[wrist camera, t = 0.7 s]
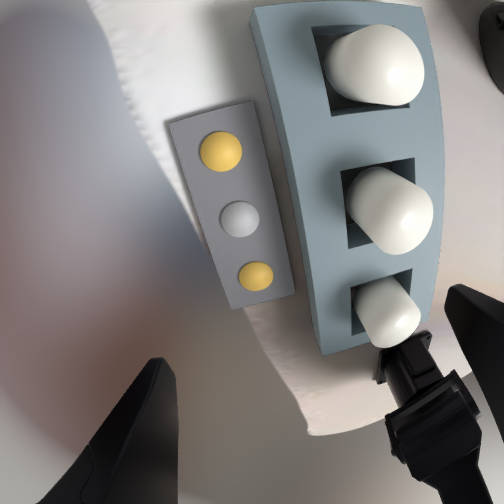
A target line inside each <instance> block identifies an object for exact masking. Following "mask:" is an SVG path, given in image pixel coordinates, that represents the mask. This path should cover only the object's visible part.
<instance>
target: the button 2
mask: <svg viewBox="0 0 504 504" xmlns="http://www.w3.org/2000/svg"><path fill="white" fill-rule="evenodd" d="M353 307H354V309H355V311H356V313H357V315H358V317H359V319H360V321H361V323H362V324H363V326H364V328H365V330H366V332H367V334H368V336H369V338H370V340H371V342H372V344H373V345H375V346H376V347H379V348H387V347H391V346H394V345H397V344H399V343H401V342H402V341H404V340H405V339H406V338H408V337H409V336H410V335H411V334H412V333H413V332H414V330H415V329H416V328H417V326H418V324H419V322H420V318H421V313H420V310H419V308H418V307H417V306H416V304H415V303H414V302H413V300H412V299H411V298H410V296H409V295H408V294H407V292H406V291H405V290H404V288H403V287H402V286H401V285H400V283H399V282H398V281H397V279H396V278H395V277H394V276H392V275H389V276H386V277H383V278H380V279H376V280H373V281H370V282H366V283H363V284H362V285H361V286H360V287H359V288H358V290H357V291H356V293H355V295H354V298H353Z"/></svg>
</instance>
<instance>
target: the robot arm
mask: <svg viewBox="0 0 504 504" xmlns="http://www.w3.org/2000/svg"><path fill="white" fill-rule="evenodd" d="M444 309H445V313H446V316H447V318H448V320H449V322H450V324H451V326H452V329H453V331H454V333H455V336H456V338H457V340H458V343H459V345H460V347H461V349H462V351H463V353H464V355H465V357H466V359H467V361H468V363H469V365H470V367H471V369H472V371H473V373H474V375H475V377H476V379H477V381H478V383H479V385H480V387H481V389H482V391H483V393H484V396H485V398H486V400H487V403H488V405H489V407H490V409H491V412H492V414H493V417H494V419H495V421H496V424H497V426H498V429H499V432H500V434H501V437H502V440H503V442H504V303H503V302H501V301H498V300H496V299H494V298H492V297H490V296H487V295H485V294H483V293H481V292H479V291H476V290H474V289H472V288H470V287H467V286H465V285H463V284H456V285H453V286H451V287H450V288H449V290H448V293H447V297H446V301H445V306H444ZM431 338H432V334H431V333H430V332H427V333H425V334H422V335H420V336H418V337H415V338H413V339H410V340H408V341H405V342H402V343H400V344H397V345H394V346H392V347H389V348H386V349H384V350H382V351H381V352H380V358H379V365H378V372H377V378H376V382H377V384H382V383H385V382H387V383H388V385H389V388H390V390H391V392H392V394H393V396H394V399H395V401H396V403H397V405H398V409H397V410H395V411H393V412H391V413H388V414H387V415H385V419H386V421H385V425H386V427H387V431H388V434H389V438H390V446H391V453H392V455H393V456H395V457H397V458H398V459H399V460H400V461H401V463H402V464H407V466H408V468H409V470H410V472H411V475H412V477H414V478H415V479H416V480H418V481H420V482H421V481H422V482H424V483H426V484H428V485H430V486H432V487H433V488H435V489H437V490H438V492H439V495H440V498H441V500H442V503H443V504H493V501H492V499H491V496H490V493H489V491H488V488H487V486H486V483H485V481H484V479H483V476H482V474H481V471H480V469H479V467H478V460H479V453H480V446H481V437H482V431H481V429H480V427H479V425H478V423H477V421H476V420H477V419H478V418H479V417H481V413H480V411H479V409H478V407H477V405H476V403H475V401H474V399H473V397H472V396H471V394H470V392H469V391H468V389H467V388H466V386H465V385H464V383H463V382H462V380H461V378H460V377H459V375H458V374H457V372H456V371H455V369H454V370H452V371H451V372H450V374H448V375H447V376H446V377H443V375H442V373H441V372H440V370H439V368H438V366H437V365H436V362H435V361H434V359H433V358H432V356H431V354H430V353H429V351H428V349H429V345H430V342H431ZM457 389H458V390H459V391H456V390H457ZM454 391H456V392H454ZM178 434H179V420H178V406H177V390H176V378H175V374H174V372H173V371H172V369H171V368H170V366H169V364H168V363H167V361H166V360H165V359H164V358H163V357H159V358H152V359H150V360H149V361H148V362H147V364H146V365H145V366H144V368H143V369H142V370H141V372H140V373H139V374H138V376H137V377H136V378H135V380H134V381H133V382H132V384H131V385H130V386H129V388H128V389H127V390H126V392H125V393H124V395H123V396H122V397H121V399H120V400H119V401H118V403H117V404H116V406H115V407H114V408H113V410H112V411H111V412H110V414H109V415H108V416H107V418H106V419H105V421H104V422H103V424H102V425H101V426H100V427H99V429H98V430H97V432H96V433H95V434H94V436H93V437H92V439H91V440H90V441H89V445H86V447H85V448H84V450H83V451H82V452H81V454H80V455H79V457H78V458H77V459H76V460H75V462H74V463H73V464H72V466H71V467H70V468H69V469H68V470H67V472H66V473H65V474H64V475H63V476H62V478H60V480H59V481H58V482H57V483H56V484H55V485H54V486H53V488H52V489H51V490H50V491H49V492H48V493H47V494H46V495H45V496H44V498H43V499H41V500H40V501H39V502H38V503H36V504H178V490H177V489H178V481H177V480H178V479H177V478H178Z"/></svg>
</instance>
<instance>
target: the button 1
mask: <svg viewBox="0 0 504 504" xmlns="http://www.w3.org/2000/svg"><path fill="white" fill-rule="evenodd" d="M324 70H325V74H326V77H327V79H328V81H329V83H330V84H331V86H332V87H333V88H334V89H335V90H336V91H337V92H338V93H339V94H340V95H342V96H343V97H345V98H347V99H350V100H353V101H358V102H368V103H377V104H385V105H392V106H397V105H403V104H406V103H408V102H410V101H411V100H413V99H414V98H415V97H416V96H417V95H418V93H419V92H420V90H421V88H422V85H423V81H424V64H423V60H422V57H421V54H420V52H419V50H418V48H417V47H416V45H415V44H414V43H413V41H412V40H411V39H410V38H409V37H408V36H407V35H406V34H405V33H403V32H402V31H400V30H398V29H397V28H394V27H392V26H389V25H384V24H375V25H371V26H368V27H365V28H363V29H360V30H358V31H355V32H353V33H350V34H348V35H346V36H343V37H341V38H339V39H337V40H335V41H334V42H333V43H332V44H331V45H330V46H329V47H328V49H327V51H326V53H325V57H324Z"/></svg>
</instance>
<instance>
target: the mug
mask: <svg viewBox="0 0 504 504" xmlns="http://www.w3.org/2000/svg"><path fill="white" fill-rule="evenodd" d="M479 30H480V41H481V47H482V51H483V55H484V58H485V61H486V64H487V67H488V69H489V71H490V74H491V76H492V78H493V79H494V81H495V83H496V84H497V86H498V87H499V89H500V90H501V91H502V92H503V93H504V2H496V3H493V4H491V5H490V6H489V7H488V8H487V9H486V10H485V11H484V12H483V14H482V16H481V19H480V26H479Z"/></svg>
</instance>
